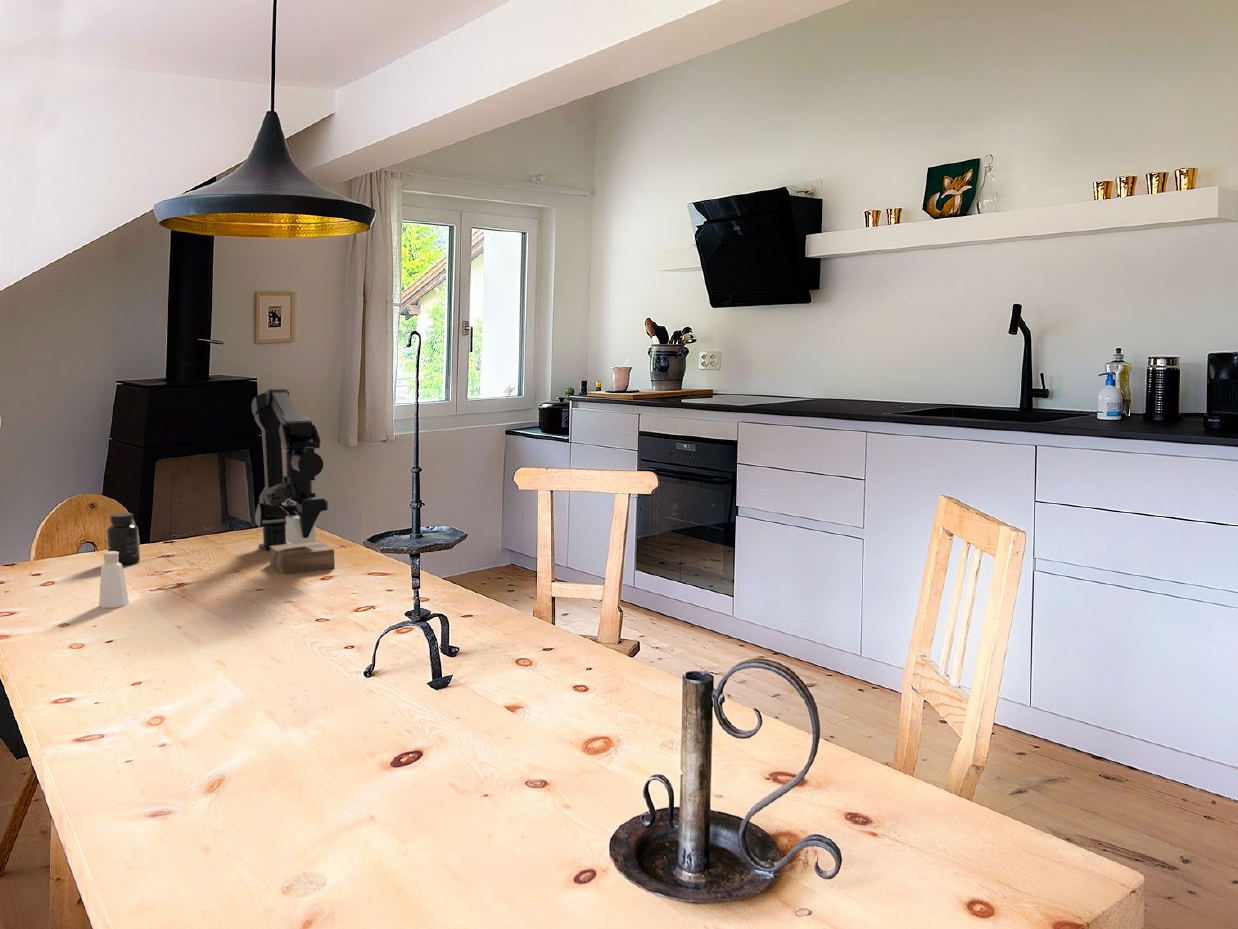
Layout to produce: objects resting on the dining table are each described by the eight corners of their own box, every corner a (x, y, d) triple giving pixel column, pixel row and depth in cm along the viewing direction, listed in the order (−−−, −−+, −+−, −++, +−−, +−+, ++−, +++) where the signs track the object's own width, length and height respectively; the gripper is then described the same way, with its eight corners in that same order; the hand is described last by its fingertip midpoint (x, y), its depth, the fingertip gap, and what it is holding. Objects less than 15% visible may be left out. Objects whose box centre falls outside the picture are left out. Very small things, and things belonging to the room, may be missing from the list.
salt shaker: (97, 609, 191) (94, 556, 189) (100, 602, 196) (97, 550, 194) (127, 606, 193) (124, 554, 191) (129, 600, 198) (126, 548, 196)
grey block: (286, 540, 228) (285, 516, 227) (307, 538, 231) (306, 513, 230) (295, 544, 224) (294, 519, 223) (315, 541, 227) (314, 516, 226)
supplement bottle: (101, 565, 228) (98, 516, 226) (124, 559, 234) (121, 511, 233) (124, 567, 226) (121, 517, 224) (146, 561, 232) (144, 513, 231)
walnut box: (270, 566, 230) (269, 545, 229) (320, 560, 236) (319, 540, 236) (283, 576, 220) (282, 555, 219) (334, 570, 227) (334, 549, 226)
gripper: (250, 470, 227) (253, 534, 229) (280, 479, 213) (283, 547, 215) (296, 466, 234) (298, 528, 236) (327, 475, 220) (329, 540, 222)
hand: (301, 536), depth 227 cm, fingers closed on grey block, 5 cm apart
